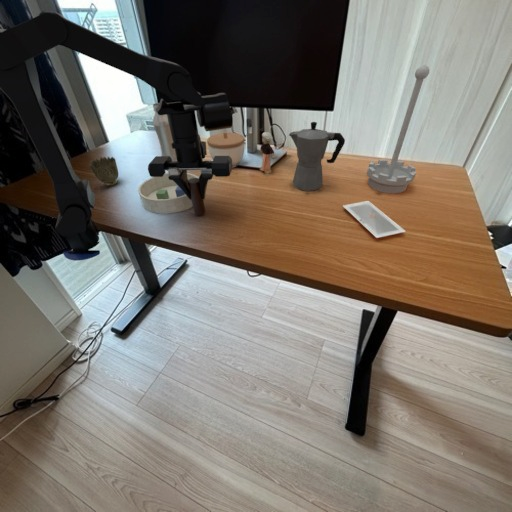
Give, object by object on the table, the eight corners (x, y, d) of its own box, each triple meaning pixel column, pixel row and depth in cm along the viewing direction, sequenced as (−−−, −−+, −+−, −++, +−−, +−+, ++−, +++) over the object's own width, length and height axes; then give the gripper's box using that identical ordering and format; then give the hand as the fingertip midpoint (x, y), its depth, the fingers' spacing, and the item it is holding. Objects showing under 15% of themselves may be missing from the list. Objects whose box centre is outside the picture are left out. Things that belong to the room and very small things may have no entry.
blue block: (185, 198, 78) (183, 190, 77) (177, 198, 78) (175, 190, 77) (187, 193, 80) (185, 186, 78) (179, 193, 80) (177, 186, 79)
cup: (101, 182, 89) (90, 158, 84) (124, 178, 91) (115, 154, 85) (98, 192, 84) (86, 167, 78) (123, 188, 85) (113, 163, 80)
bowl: (195, 215, 72) (192, 200, 69) (133, 214, 73) (127, 200, 70) (207, 185, 85) (205, 172, 82) (154, 185, 86) (150, 172, 83)
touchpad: (367, 204, 74) (369, 197, 72) (404, 235, 63) (407, 227, 62) (341, 209, 72) (343, 201, 71) (375, 241, 61) (377, 234, 60)
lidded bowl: (223, 175, 90) (219, 141, 83) (204, 164, 98) (199, 132, 91) (252, 164, 96) (251, 132, 89) (232, 155, 104) (229, 124, 96)
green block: (166, 201, 77) (164, 193, 75) (158, 201, 77) (155, 193, 76) (169, 197, 79) (167, 189, 77) (160, 197, 79) (158, 189, 77)
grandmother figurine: (254, 170, 93) (253, 131, 84) (262, 166, 95) (262, 128, 86) (270, 176, 89) (271, 136, 80) (278, 172, 91) (279, 133, 82)
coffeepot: (283, 188, 82) (285, 125, 70) (289, 175, 89) (293, 116, 77) (334, 195, 78) (347, 129, 66) (337, 180, 85) (349, 119, 73)
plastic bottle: (162, 164, 99) (146, 103, 86) (181, 161, 101) (168, 100, 87) (164, 171, 94) (148, 107, 81) (184, 167, 96) (170, 105, 83)
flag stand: (412, 197, 76) (463, 69, 56) (363, 191, 79) (395, 68, 59) (408, 178, 85) (451, 61, 65) (365, 173, 88) (393, 61, 69)
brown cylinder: (204, 215, 70) (198, 183, 64) (193, 215, 70) (186, 183, 64) (206, 209, 72) (201, 177, 66) (195, 209, 72) (189, 177, 66)
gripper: (232, 123, 63) (237, 184, 74) (155, 124, 65) (170, 184, 75) (225, 138, 55) (232, 205, 65) (137, 139, 56) (157, 204, 67)
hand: (197, 198), depth 68 cm, fingers closed on brown cylinder, 3 cm apart
